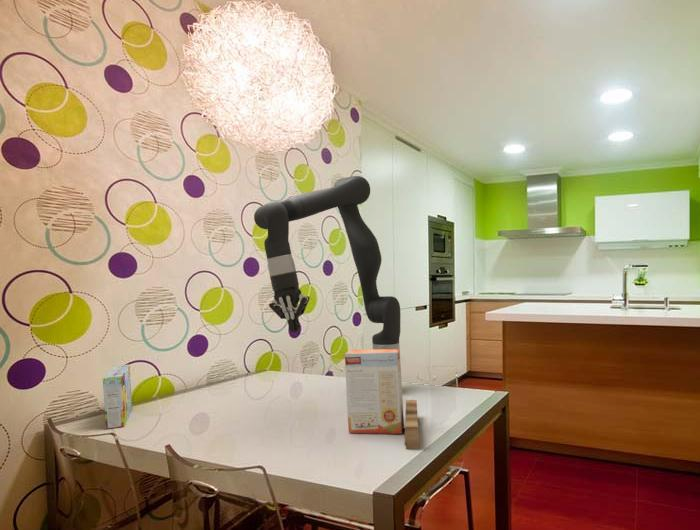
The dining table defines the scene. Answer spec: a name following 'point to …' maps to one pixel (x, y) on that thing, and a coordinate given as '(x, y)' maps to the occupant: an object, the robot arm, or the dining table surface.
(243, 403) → the dining table surface
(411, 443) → the notched wooden bar
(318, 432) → the dining table surface
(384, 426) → the cracker box
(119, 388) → the snack box
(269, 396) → the dining table surface
